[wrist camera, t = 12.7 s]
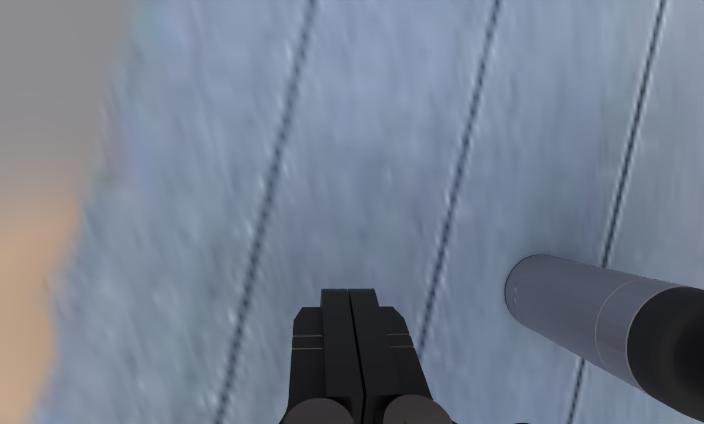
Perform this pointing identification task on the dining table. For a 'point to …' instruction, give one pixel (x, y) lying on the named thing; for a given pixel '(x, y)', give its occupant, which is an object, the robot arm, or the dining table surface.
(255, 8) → the dining table surface
